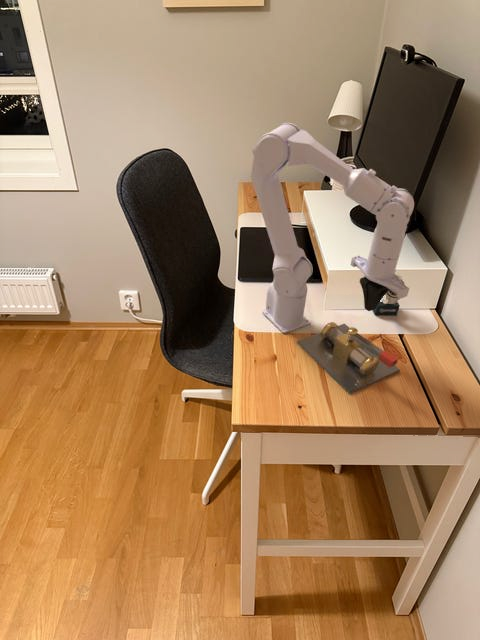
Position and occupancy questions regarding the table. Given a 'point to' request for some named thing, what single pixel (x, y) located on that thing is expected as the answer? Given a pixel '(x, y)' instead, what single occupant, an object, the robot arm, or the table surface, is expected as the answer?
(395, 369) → the valve
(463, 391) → the table surface
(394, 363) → the lever
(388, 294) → the watch
